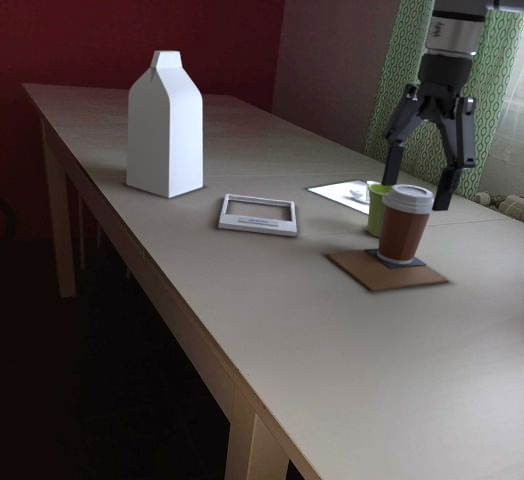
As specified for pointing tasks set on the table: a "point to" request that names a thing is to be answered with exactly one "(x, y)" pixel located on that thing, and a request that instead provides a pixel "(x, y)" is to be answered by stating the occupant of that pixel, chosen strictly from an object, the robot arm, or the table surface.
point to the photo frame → (258, 223)
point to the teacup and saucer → (360, 193)
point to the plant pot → (376, 208)
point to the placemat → (385, 270)
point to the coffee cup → (403, 222)
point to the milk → (165, 129)
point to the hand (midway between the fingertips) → (412, 197)
